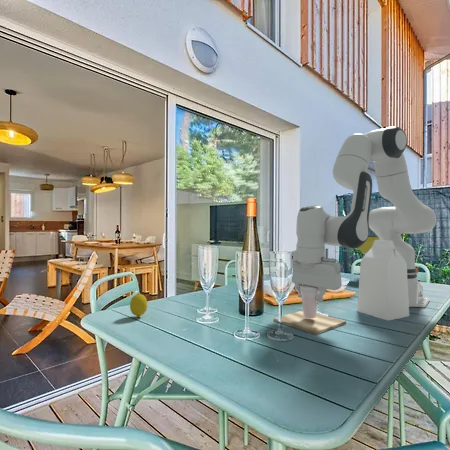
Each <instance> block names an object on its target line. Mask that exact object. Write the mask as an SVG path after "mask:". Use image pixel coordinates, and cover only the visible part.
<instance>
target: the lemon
mask: <svg viewBox="0 0 450 450" xmlns="http://www.w3.org/2000/svg"><path fill="white" fill-rule="evenodd" d="M129 308H130V312H131V313H132V314H133V315H134V316H136V317H137V318H140V317H141V316H143V315H144V314H145V313H146V312H147V308H148V299H147V298H146V296H145V295H144V294H141V292H137V294H134V295H133V297H131V299H130V303H129Z"/></svg>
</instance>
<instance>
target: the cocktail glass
mask: <svg viewBox="0 0 450 450" xmlns="http://www.w3.org/2000/svg"><path fill="white" fill-rule="evenodd" d="M375 240H380V239H379V237H378V236H377V235H369V236H368V239H367V240H366V242H365V243H364V244H363V245H362V246H360V247H359V248H356V249H357V250H359V251H360V252H361V254H363V257H364V256H365V254H366V253H367V252H368V251H369V250H370V249H371V248H372V246H373V243H374V241H375ZM359 278H360V277H358V278H354V279H355V280H357V281H356V282H359ZM355 280H354V281H355Z"/></svg>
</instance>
